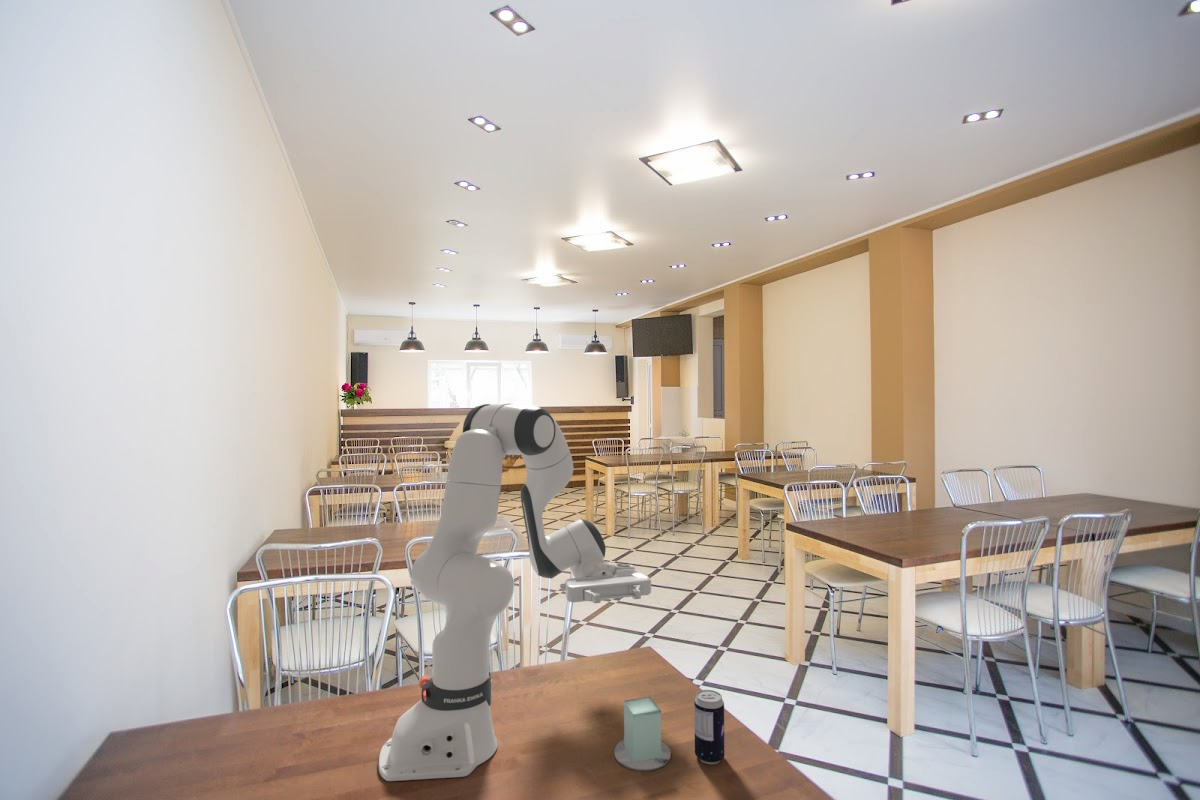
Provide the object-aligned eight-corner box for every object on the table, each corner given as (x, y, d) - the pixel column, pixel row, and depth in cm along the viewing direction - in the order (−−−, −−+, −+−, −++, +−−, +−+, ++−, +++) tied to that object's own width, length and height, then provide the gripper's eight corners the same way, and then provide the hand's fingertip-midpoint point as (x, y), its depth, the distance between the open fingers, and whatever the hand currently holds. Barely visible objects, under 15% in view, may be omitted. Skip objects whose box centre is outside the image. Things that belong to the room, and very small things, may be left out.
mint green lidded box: (633, 762, 113) (633, 714, 113) (624, 746, 118) (624, 700, 118) (661, 757, 114) (660, 710, 115) (650, 741, 120) (650, 696, 120)
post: (624, 775, 110) (624, 734, 110) (607, 743, 120) (607, 706, 120) (679, 765, 113) (679, 725, 113) (657, 734, 123) (657, 698, 123)
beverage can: (727, 767, 112) (726, 703, 112) (697, 766, 112) (696, 702, 112) (721, 749, 118) (721, 688, 118) (692, 749, 118) (692, 688, 118)
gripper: (558, 570, 142) (572, 587, 128) (638, 564, 147) (660, 579, 134) (558, 597, 142) (572, 616, 128) (639, 589, 147) (660, 607, 134)
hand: (617, 597), depth 131 cm, fingers open, 8 cm apart
